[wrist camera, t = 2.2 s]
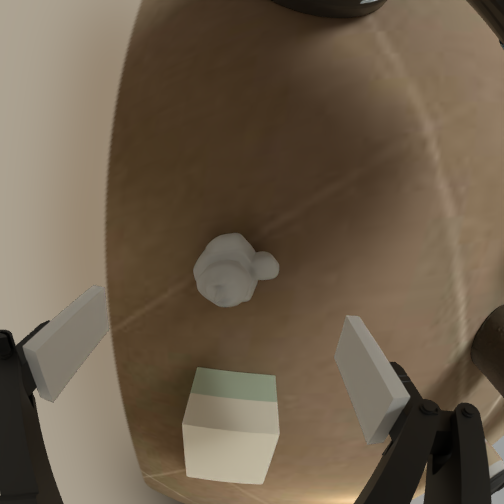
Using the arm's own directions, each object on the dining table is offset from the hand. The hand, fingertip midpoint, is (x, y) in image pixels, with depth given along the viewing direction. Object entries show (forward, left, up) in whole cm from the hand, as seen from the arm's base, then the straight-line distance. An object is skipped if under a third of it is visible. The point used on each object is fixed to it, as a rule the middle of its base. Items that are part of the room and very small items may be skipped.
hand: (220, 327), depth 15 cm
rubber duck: (0, 0, -11) cm, 11 cm away
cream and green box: (+17, +1, -10) cm, 20 cm away
